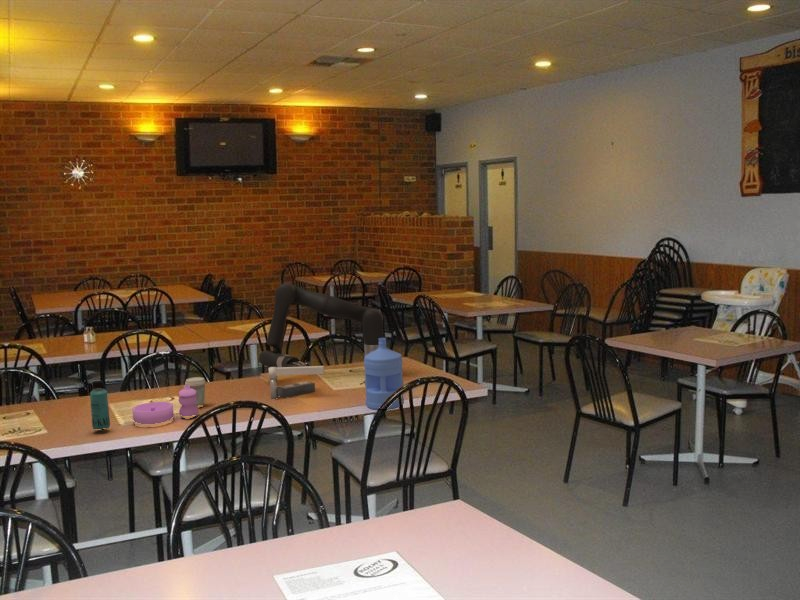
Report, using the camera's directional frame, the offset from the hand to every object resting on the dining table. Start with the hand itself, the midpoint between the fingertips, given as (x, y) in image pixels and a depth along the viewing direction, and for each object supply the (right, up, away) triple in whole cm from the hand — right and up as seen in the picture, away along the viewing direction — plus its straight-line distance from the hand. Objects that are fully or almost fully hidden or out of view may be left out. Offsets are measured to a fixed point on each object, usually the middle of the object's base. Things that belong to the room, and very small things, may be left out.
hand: (308, 369), depth 342 cm
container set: (-53, -18, -27) cm, 63 cm away
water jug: (+33, -13, -17) cm, 40 cm away
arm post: (-15, -13, 0) cm, 19 cm away
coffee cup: (-46, -15, -9) cm, 49 cm away
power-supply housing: (-6, -11, +7) cm, 15 cm away
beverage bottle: (-74, -21, -40) cm, 87 cm away
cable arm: (-5, -3, -1) cm, 6 cm away
